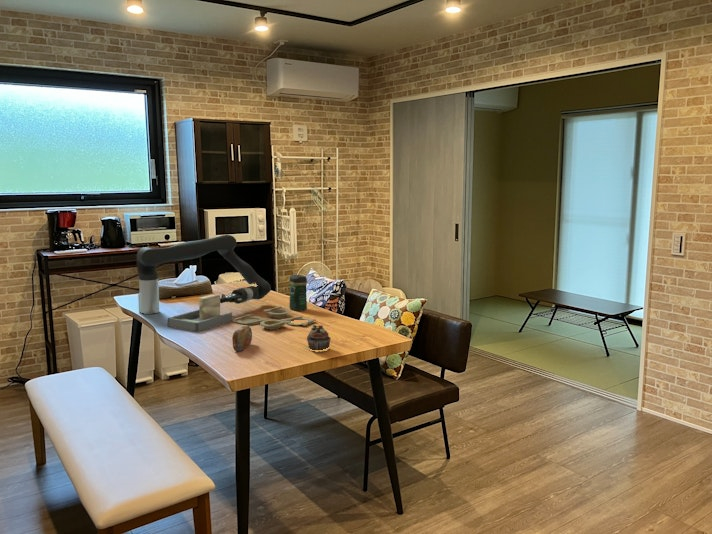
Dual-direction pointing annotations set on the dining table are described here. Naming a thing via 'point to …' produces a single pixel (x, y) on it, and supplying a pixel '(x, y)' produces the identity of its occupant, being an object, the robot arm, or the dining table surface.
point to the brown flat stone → (242, 338)
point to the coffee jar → (298, 292)
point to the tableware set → (272, 324)
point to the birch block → (209, 306)
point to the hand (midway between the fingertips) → (219, 301)
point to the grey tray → (197, 321)
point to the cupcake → (318, 338)
